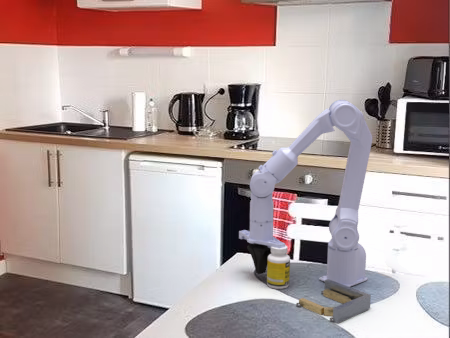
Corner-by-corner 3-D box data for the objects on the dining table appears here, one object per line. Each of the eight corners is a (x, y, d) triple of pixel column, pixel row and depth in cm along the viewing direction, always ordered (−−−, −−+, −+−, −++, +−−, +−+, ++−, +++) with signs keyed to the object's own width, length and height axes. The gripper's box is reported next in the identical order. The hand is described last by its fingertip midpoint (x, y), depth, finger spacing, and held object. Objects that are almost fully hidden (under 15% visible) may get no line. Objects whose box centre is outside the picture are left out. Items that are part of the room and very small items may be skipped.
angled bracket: (327, 291, 134) (327, 278, 134) (371, 308, 125) (372, 295, 124) (291, 304, 127) (292, 291, 126) (336, 324, 117) (336, 310, 117)
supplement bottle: (288, 290, 135) (289, 250, 133) (265, 288, 136) (266, 249, 134) (290, 282, 140) (291, 243, 138) (268, 280, 141) (269, 242, 139)
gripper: (229, 216, 143) (229, 268, 145) (270, 229, 132) (269, 285, 134) (250, 211, 147) (250, 262, 150) (291, 223, 136) (290, 278, 139)
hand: (260, 272), depth 142 cm, fingers closed
